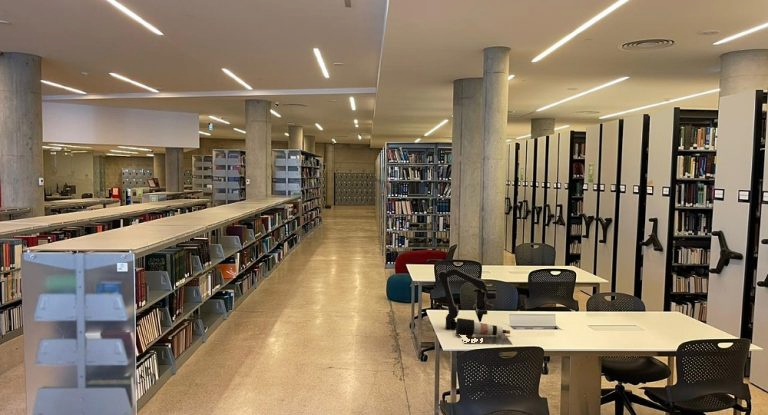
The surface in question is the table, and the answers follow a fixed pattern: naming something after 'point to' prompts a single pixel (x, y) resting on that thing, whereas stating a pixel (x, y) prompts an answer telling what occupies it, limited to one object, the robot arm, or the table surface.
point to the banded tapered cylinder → (478, 328)
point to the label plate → (489, 339)
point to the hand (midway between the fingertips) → (480, 321)
